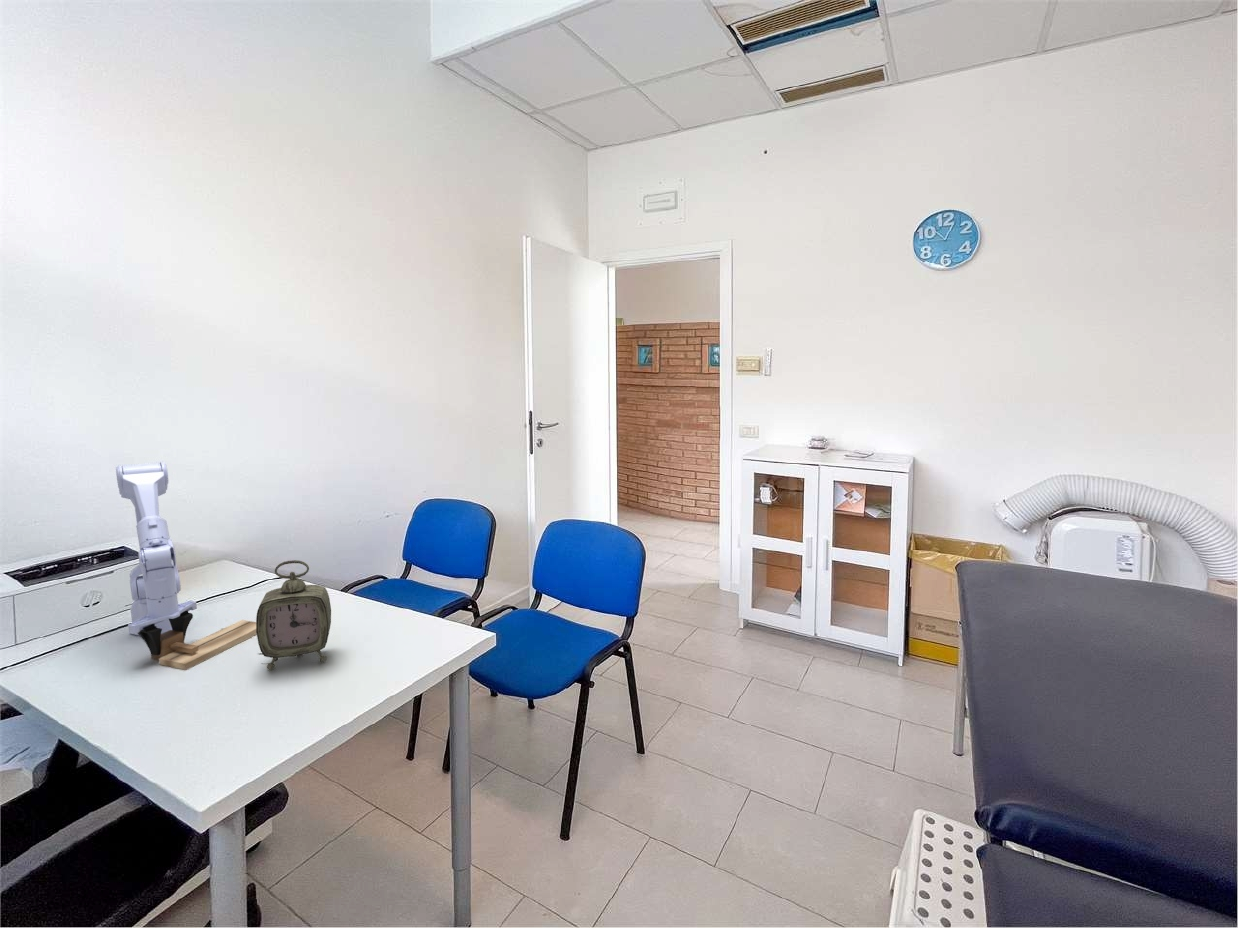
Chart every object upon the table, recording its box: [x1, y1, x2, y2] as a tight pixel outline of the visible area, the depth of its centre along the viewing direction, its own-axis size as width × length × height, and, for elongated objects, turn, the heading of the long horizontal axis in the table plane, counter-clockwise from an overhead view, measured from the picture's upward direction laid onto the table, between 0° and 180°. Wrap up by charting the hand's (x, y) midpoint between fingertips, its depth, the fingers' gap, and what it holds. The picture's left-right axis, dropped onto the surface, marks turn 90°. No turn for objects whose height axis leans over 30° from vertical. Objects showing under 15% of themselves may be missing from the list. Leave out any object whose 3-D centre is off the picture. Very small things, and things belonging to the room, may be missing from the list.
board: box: [158, 619, 257, 671], centre depth 144 cm, size 8×22×2 cm, turn 165°
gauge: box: [150, 630, 198, 661], centre depth 137 cm, size 10×5×5 cm, turn 75°
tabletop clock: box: [255, 559, 332, 671], centre depth 135 cm, size 14×9×25 cm, turn 112°
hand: (167, 648), depth 138 cm, fingers closed on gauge, 5 cm apart
